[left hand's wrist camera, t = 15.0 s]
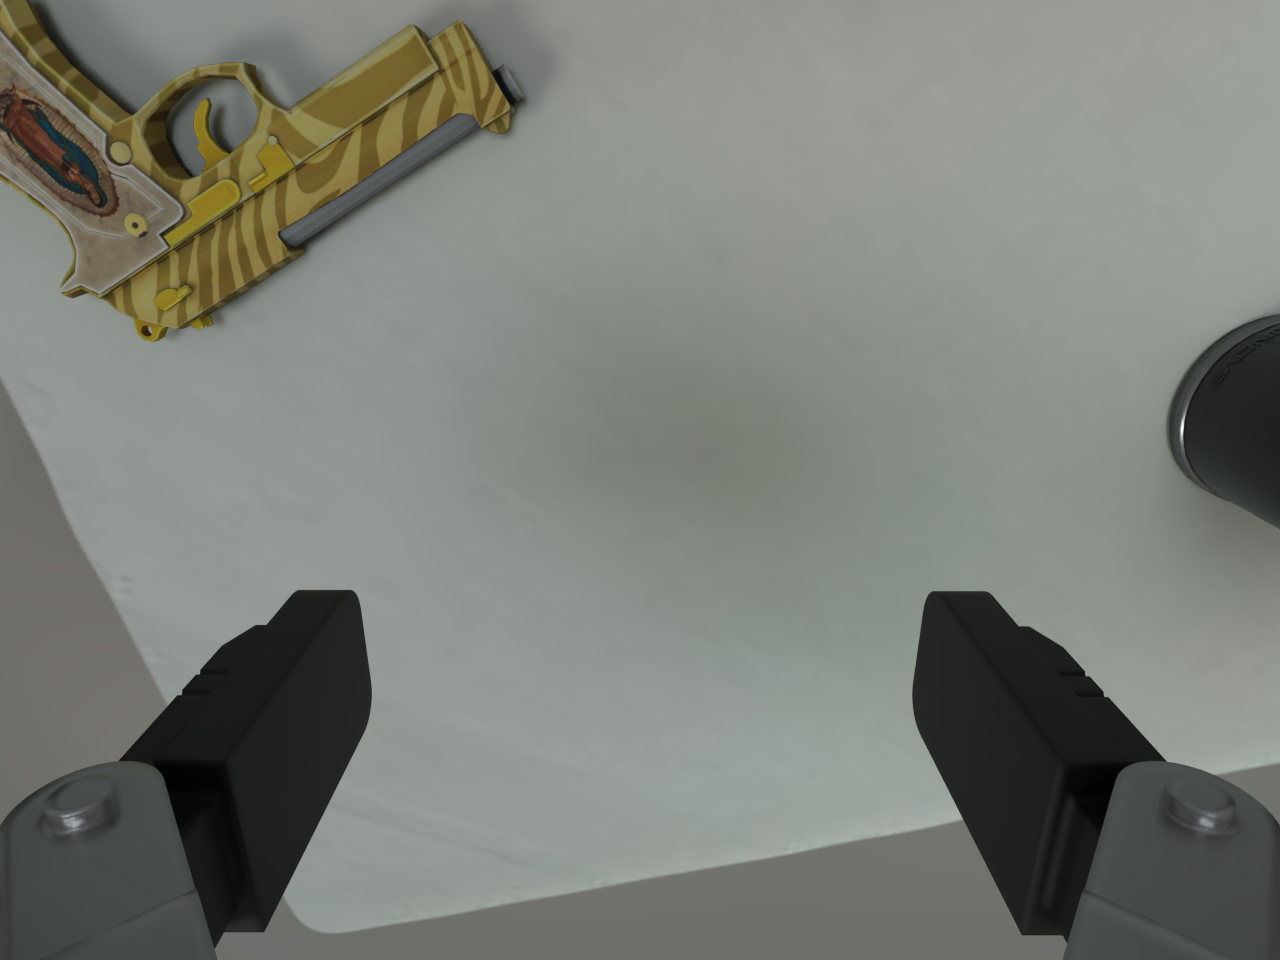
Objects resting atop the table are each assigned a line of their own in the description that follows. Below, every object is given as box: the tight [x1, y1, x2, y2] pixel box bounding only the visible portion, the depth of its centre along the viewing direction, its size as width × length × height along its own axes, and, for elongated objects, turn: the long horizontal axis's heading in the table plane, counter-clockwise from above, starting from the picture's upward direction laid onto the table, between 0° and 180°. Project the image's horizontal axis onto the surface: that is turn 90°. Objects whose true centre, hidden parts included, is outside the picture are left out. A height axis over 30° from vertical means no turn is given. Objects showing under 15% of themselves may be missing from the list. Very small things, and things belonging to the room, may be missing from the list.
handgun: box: [0, 0, 523, 342], centre depth 34 cm, size 2×23×15 cm
